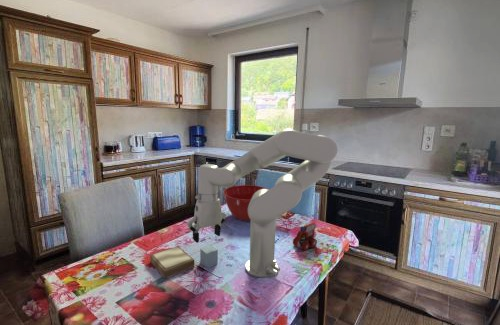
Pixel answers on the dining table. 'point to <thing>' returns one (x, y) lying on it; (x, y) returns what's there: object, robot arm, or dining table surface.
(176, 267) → the plinth
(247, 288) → the dining table surface
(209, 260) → the block
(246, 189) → the mixing bowl
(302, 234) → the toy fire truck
